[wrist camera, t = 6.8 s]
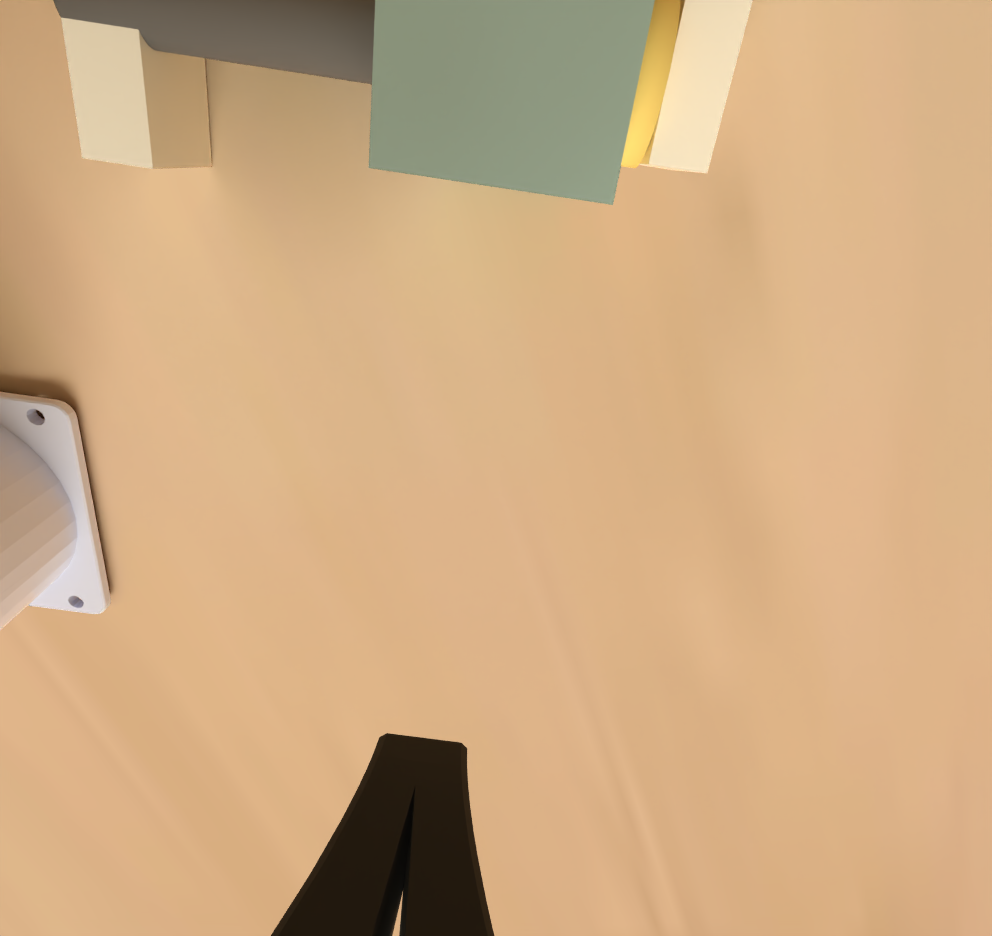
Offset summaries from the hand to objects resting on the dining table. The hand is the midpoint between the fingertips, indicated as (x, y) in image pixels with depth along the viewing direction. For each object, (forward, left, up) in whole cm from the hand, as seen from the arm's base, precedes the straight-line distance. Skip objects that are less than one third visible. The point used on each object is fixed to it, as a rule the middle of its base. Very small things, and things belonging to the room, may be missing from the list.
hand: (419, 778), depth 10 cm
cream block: (+3, +11, -10) cm, 16 cm away
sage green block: (0, +11, -10) cm, 15 cm away
